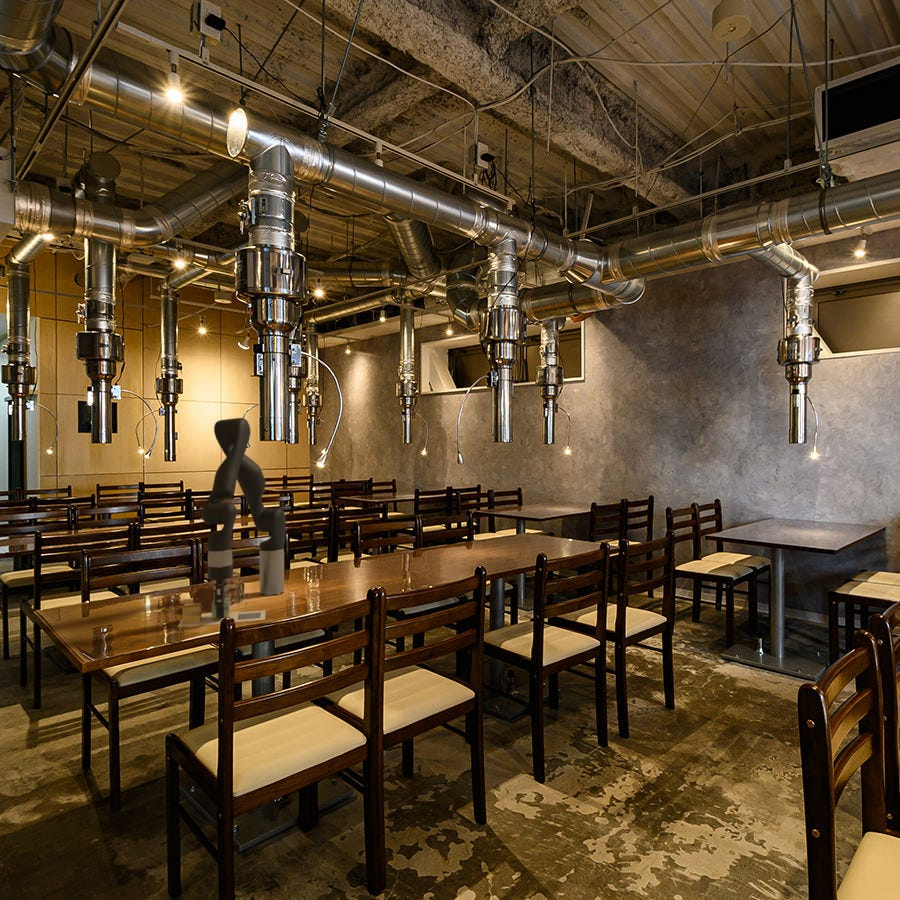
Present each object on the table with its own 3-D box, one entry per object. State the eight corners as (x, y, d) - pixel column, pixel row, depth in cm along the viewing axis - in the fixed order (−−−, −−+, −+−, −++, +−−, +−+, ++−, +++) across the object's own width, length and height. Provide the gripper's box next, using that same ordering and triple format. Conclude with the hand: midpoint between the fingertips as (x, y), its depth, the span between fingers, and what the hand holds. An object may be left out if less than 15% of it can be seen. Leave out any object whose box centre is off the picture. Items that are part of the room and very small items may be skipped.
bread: (220, 614, 198) (220, 585, 198) (191, 613, 199) (190, 584, 199) (246, 601, 216) (245, 574, 216) (219, 600, 217) (219, 574, 218)
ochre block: (184, 619, 188) (184, 604, 188) (201, 618, 189) (201, 603, 189) (182, 624, 183) (182, 608, 183) (199, 622, 185) (199, 606, 185)
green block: (213, 614, 191) (213, 599, 191) (229, 613, 192) (229, 598, 192) (211, 618, 186) (211, 603, 186) (228, 617, 187) (228, 601, 187)
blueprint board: (183, 619, 191) (183, 617, 191) (265, 612, 198) (265, 610, 198) (177, 629, 179) (177, 626, 179) (264, 621, 187) (264, 619, 187)
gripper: (210, 560, 195) (210, 611, 195) (205, 568, 181) (206, 623, 181) (233, 559, 197) (234, 609, 197) (230, 566, 183) (231, 620, 183)
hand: (220, 615), depth 189 cm, fingers closed on green block, 5 cm apart
